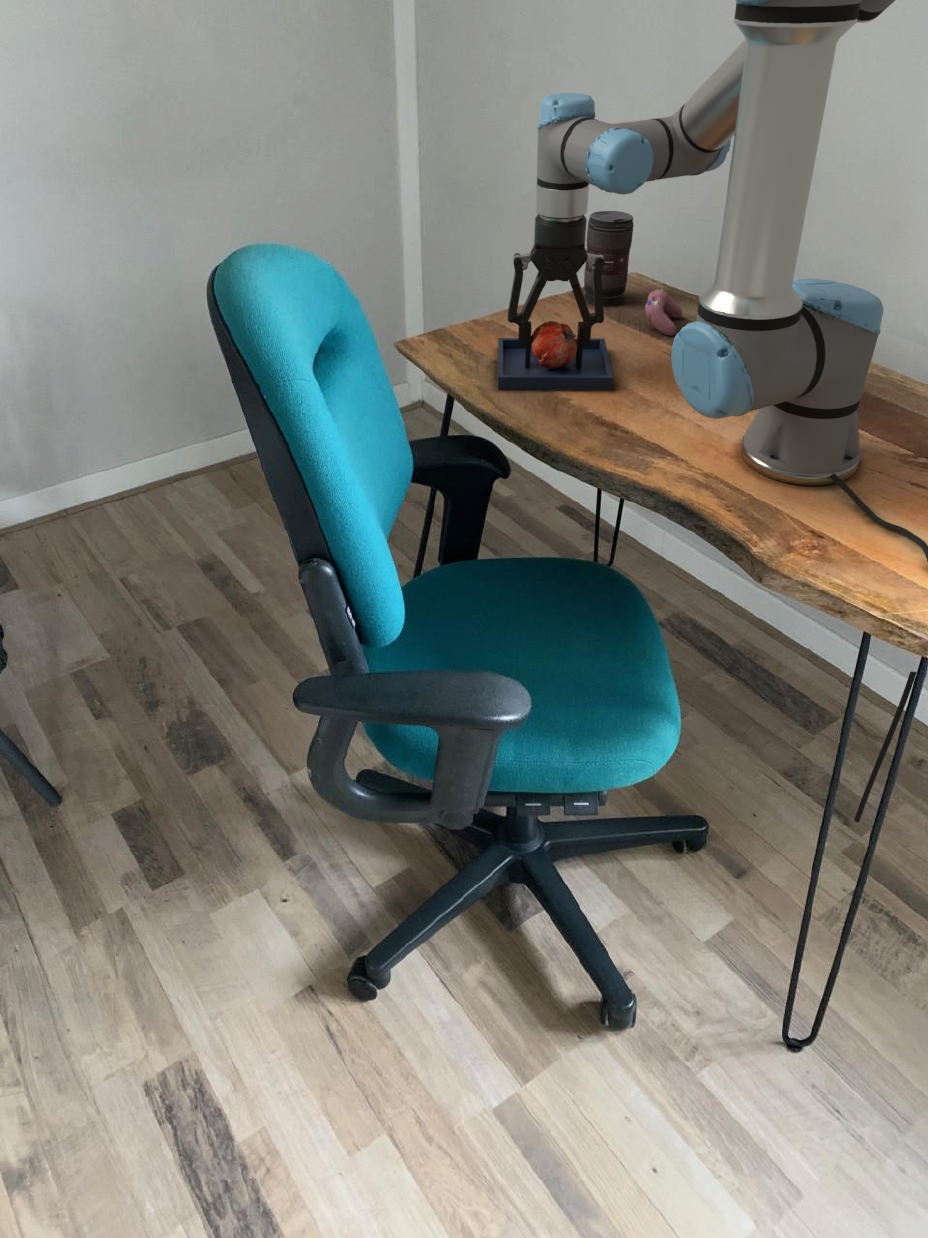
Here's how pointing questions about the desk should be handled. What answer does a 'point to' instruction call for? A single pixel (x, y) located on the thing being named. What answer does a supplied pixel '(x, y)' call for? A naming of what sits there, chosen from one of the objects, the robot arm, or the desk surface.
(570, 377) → the tray
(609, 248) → the camera lens
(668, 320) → the video game controller
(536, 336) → the pomegranate
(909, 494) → the desk surface
